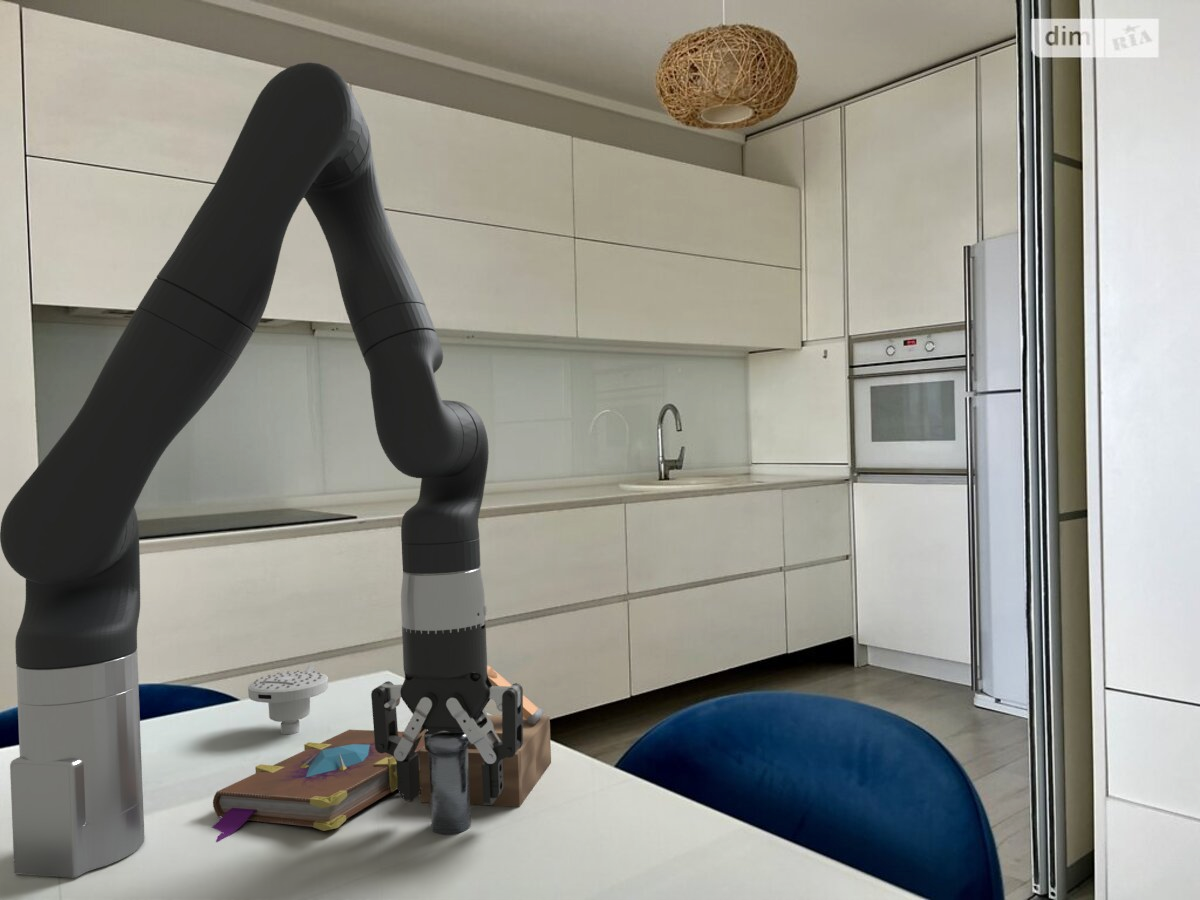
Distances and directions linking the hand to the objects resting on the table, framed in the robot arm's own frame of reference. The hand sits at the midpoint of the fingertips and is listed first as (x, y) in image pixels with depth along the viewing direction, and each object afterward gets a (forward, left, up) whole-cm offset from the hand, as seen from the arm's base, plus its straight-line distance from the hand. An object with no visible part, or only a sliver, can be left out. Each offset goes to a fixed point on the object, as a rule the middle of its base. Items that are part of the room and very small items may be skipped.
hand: (451, 799), depth 82 cm
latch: (+15, -1, +5) cm, 16 cm away
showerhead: (+25, +31, -3) cm, 40 cm away
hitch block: (+11, 0, -2) cm, 11 cm away
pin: (0, 0, -2) cm, 2 cm away
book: (+6, +15, -3) cm, 16 cm away
